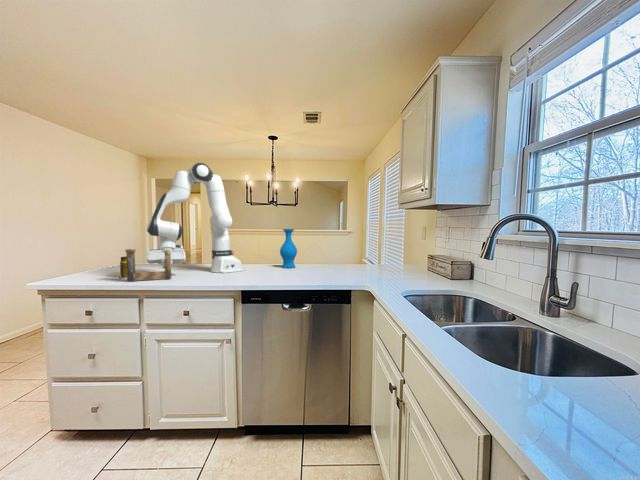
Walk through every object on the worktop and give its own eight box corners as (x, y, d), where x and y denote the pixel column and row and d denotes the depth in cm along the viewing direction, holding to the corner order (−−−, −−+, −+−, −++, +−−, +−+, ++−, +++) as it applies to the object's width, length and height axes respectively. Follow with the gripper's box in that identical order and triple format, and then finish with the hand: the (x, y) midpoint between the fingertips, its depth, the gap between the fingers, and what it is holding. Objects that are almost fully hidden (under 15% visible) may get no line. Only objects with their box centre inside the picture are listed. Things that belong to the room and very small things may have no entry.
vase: (276, 267, 208) (276, 229, 206) (290, 265, 216) (290, 228, 214) (286, 269, 199) (286, 229, 197) (300, 267, 207) (300, 229, 205)
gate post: (136, 279, 161) (135, 249, 160) (136, 280, 157) (135, 249, 156) (127, 279, 159) (126, 249, 158) (126, 281, 155) (125, 250, 154)
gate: (127, 281, 153) (126, 250, 152) (129, 280, 156) (128, 250, 155) (171, 278, 161) (170, 249, 160) (171, 277, 164) (170, 248, 163)
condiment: (133, 277, 167) (132, 257, 166) (115, 278, 162) (115, 258, 162) (133, 275, 173) (132, 255, 172) (116, 276, 168) (115, 256, 168)
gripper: (147, 246, 165) (144, 265, 157) (185, 245, 174) (185, 263, 165) (148, 253, 169) (146, 271, 161) (185, 252, 178) (185, 269, 170)
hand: (166, 267), depth 163 cm, fingers closed
